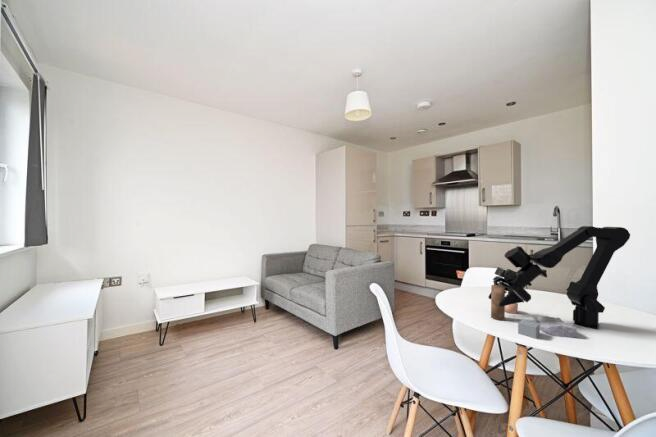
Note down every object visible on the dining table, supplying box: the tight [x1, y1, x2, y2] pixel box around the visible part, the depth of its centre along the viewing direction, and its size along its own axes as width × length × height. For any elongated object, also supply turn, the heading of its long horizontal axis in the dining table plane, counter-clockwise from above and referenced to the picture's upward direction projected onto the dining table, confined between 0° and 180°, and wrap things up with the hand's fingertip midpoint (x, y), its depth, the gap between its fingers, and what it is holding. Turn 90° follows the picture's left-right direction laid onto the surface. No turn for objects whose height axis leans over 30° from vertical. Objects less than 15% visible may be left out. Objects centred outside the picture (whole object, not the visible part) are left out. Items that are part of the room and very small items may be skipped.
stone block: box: [532, 315, 578, 339], centre depth 96 cm, size 12×5×10 cm
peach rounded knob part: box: [505, 303, 519, 315], centre depth 114 cm, size 5×5×4 cm
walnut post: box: [490, 284, 506, 322], centre depth 107 cm, size 5×5×13 cm
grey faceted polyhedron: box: [517, 319, 541, 339], centre depth 92 cm, size 5×5×4 cm
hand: (494, 301), depth 107 cm, fingers open, 9 cm apart
